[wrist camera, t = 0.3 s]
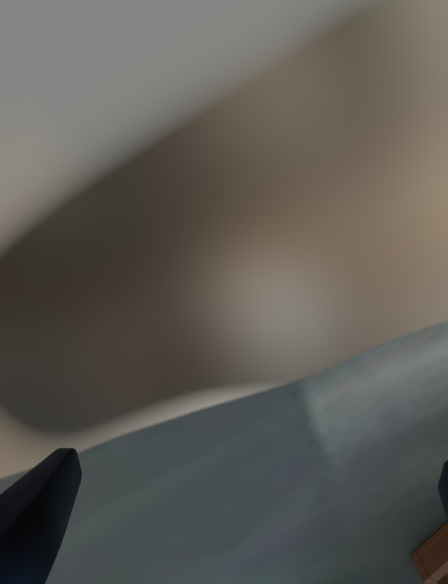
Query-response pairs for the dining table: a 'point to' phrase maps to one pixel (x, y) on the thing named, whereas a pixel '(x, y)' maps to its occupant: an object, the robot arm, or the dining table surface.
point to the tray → (433, 558)
